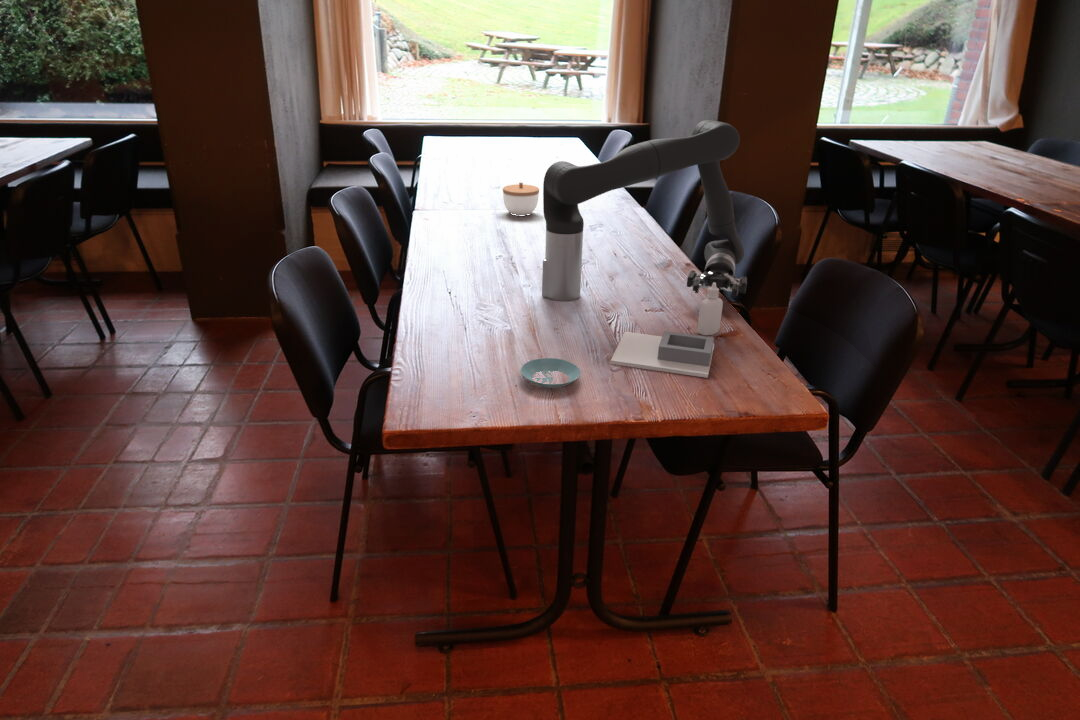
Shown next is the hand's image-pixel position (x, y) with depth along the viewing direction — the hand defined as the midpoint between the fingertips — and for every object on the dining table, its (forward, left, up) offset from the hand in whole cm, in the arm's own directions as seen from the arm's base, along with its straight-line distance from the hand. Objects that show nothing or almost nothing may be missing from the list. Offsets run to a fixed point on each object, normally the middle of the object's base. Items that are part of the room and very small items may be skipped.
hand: (714, 291), depth 180 cm
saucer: (-28, -45, -7) cm, 53 cm away
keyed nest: (-8, -26, -7) cm, 28 cm away
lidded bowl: (-73, +76, -7) cm, 105 cm away
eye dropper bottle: (0, -10, -7) cm, 12 cm away
